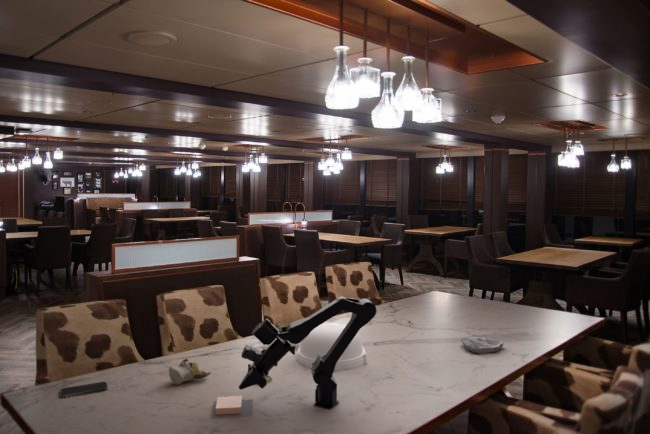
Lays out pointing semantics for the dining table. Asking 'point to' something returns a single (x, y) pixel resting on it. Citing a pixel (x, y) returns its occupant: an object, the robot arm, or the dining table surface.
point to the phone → (83, 389)
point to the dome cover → (323, 341)
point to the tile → (229, 405)
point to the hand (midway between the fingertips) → (239, 388)
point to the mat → (245, 411)
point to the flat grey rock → (482, 344)
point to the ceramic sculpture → (186, 372)
